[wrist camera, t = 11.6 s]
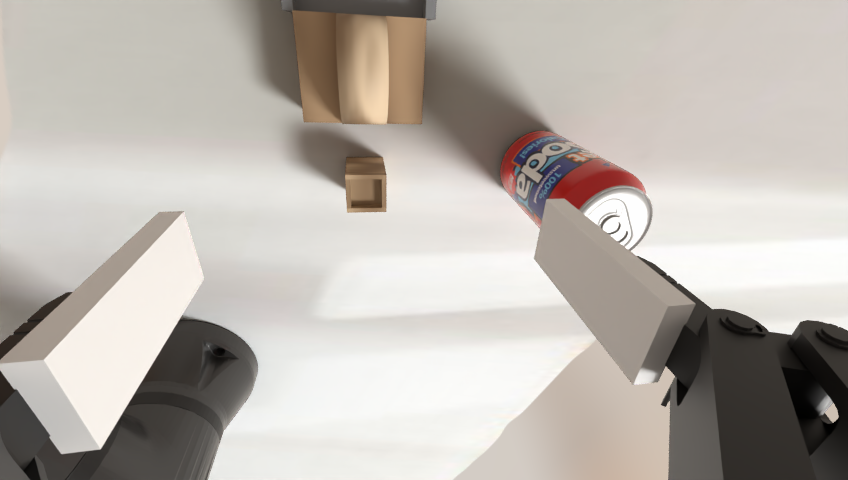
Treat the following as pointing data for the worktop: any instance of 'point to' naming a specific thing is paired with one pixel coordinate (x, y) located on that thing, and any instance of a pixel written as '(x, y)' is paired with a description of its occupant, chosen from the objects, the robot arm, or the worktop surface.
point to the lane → (366, 7)
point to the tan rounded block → (360, 67)
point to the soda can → (576, 185)
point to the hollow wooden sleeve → (365, 184)
